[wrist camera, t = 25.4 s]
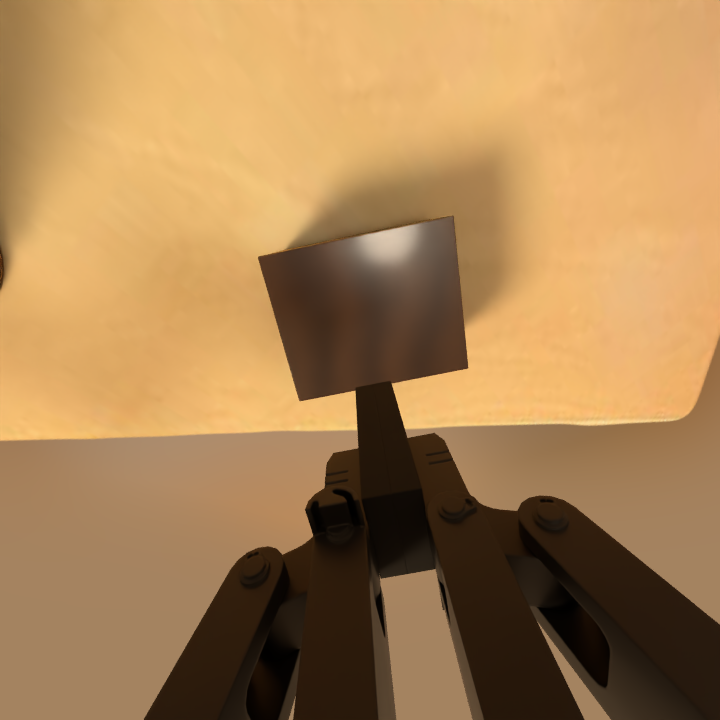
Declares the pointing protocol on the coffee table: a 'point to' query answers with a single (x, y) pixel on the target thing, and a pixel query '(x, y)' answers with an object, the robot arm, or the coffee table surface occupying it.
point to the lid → (369, 308)
